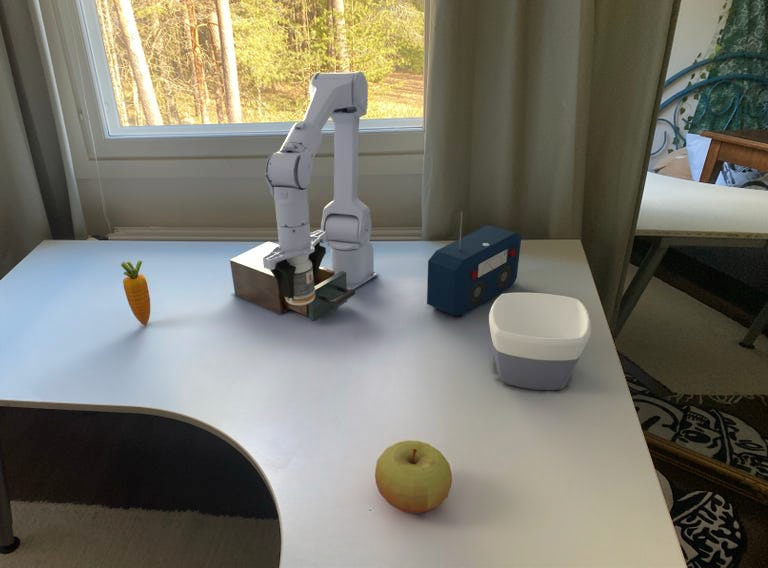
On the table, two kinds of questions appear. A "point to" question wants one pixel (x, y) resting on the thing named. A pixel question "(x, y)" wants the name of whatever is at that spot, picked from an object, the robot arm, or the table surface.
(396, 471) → the apple
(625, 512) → the table surface
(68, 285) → the table surface
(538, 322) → the bowl
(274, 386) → the table surface
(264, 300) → the cabinet
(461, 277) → the radio
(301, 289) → the pill bottle
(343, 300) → the drawer
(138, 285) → the carrot
